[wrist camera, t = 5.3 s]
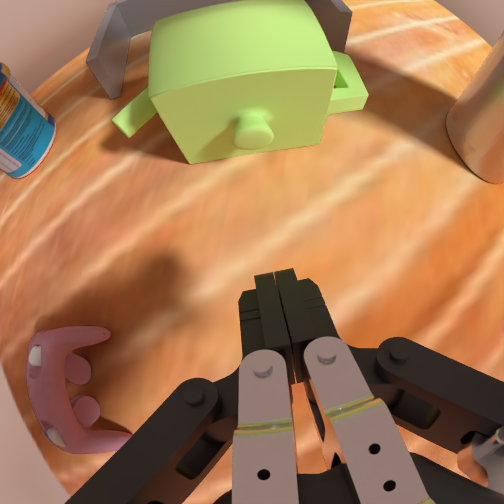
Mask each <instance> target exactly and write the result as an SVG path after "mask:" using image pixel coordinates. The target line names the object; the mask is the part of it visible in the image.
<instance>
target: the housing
mask: <svg viewBox="0 0 504 504" xmlns="http://www.w3.org/2000/svg"><path fill="white" fill-rule="evenodd" d="M233 1H241V0H119V1H116V2H114V3H112V4H109V6H108V8H107V10H106V12H105V15H104V17H103V19H102V21H101V23H100V26H99V28H98V31H97V33H96V36H95V38H94V41H93V43H92V46H91V49H90V51H89V54H88V57H87V60H86V64H87V65H88V67H89V68H90V70H91V71H92V73H93V74H94V76H95V77H96V79H97V80H98V82H99V83H100V84H101V86H102V87H103V89H104V90H105V92H106V93H107V95H108V96H109V98H110V99H113V98H116V97H119V96H121V91H122V84H123V78H124V72H125V66H126V60H127V55H128V50H129V45H130V40H131V37H132V36H134V35H137V34H140V33H143V32H146V31H149V30H152V29H153V27H154V24H155V22H156V21H158V20H160V19H163V18H165V17H168V16H172V15H175V14H178V13H182V12H185V11H189V10H193V9H197V8H202V7H206V6H211V5H216V4H221V3H227V2H233ZM304 1H305V2H306V3H307V4H308V5H309V7H310V8H311V10H312V11H313V13H314V15H315V17H316V18H317V20H318V22H319V24H320V26H321V28H322V30H323V32H324V34H325V36H326V39H327V41H328V43H329V46H330V48H331V50H332V51H336V52H340V53H344V49H345V45H346V40H347V36H348V31H349V27H350V22H351V17H352V11H351V10H350V9H349V8H348V7H347V6H346V5H345V4H344V3H343V1H342V0H304Z"/></svg>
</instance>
